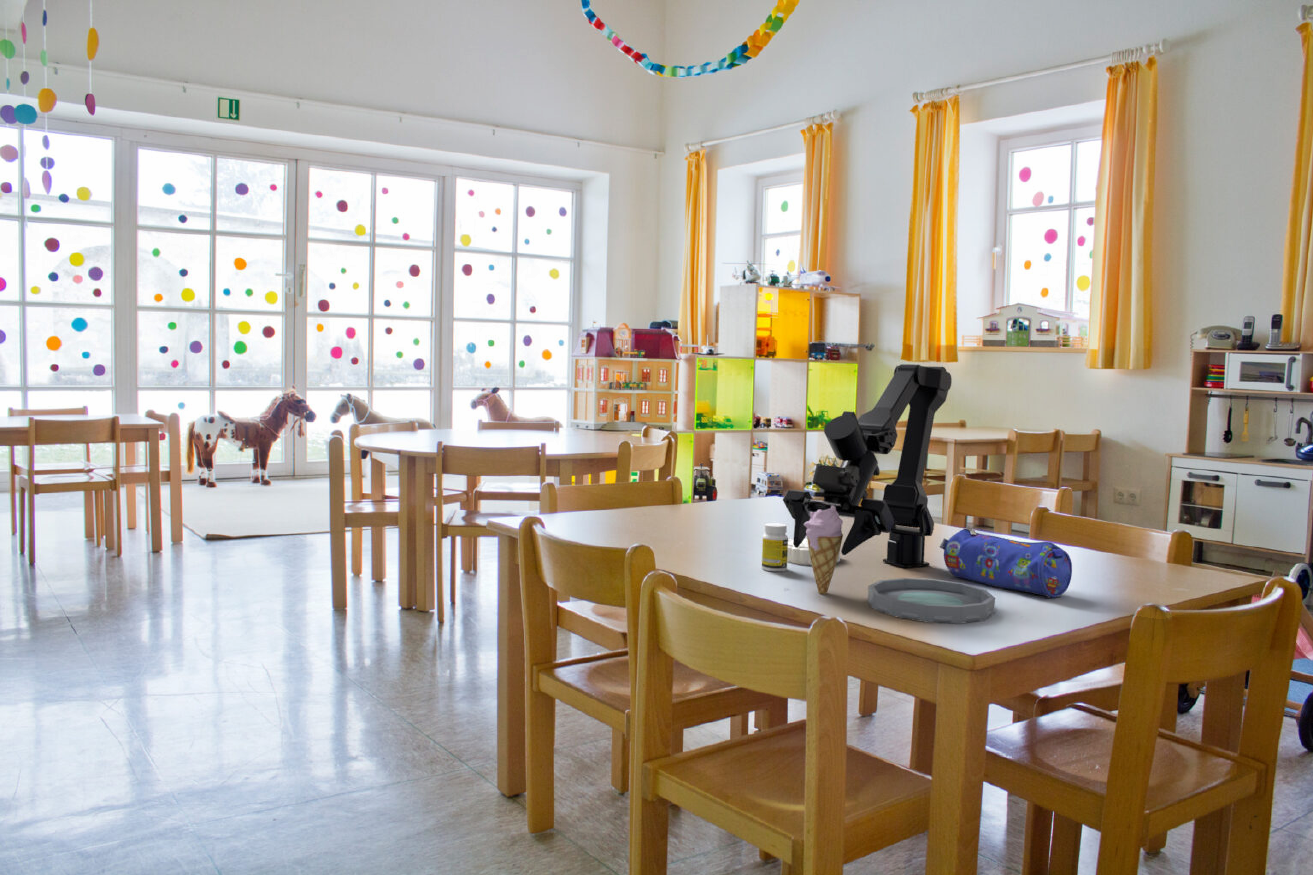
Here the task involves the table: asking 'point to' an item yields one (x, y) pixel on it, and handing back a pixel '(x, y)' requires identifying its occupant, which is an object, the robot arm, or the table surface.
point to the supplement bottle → (775, 547)
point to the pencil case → (1008, 563)
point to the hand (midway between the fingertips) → (818, 549)
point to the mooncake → (800, 553)
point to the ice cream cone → (824, 544)
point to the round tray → (931, 600)
